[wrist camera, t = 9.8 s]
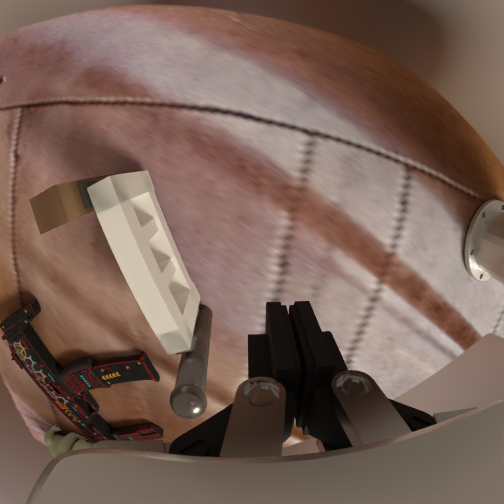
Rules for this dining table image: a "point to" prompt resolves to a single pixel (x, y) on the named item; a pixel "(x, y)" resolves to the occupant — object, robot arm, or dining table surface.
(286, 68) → the dining table surface
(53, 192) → the post
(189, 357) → the hinge post
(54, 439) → the figurine
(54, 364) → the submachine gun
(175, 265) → the gate
